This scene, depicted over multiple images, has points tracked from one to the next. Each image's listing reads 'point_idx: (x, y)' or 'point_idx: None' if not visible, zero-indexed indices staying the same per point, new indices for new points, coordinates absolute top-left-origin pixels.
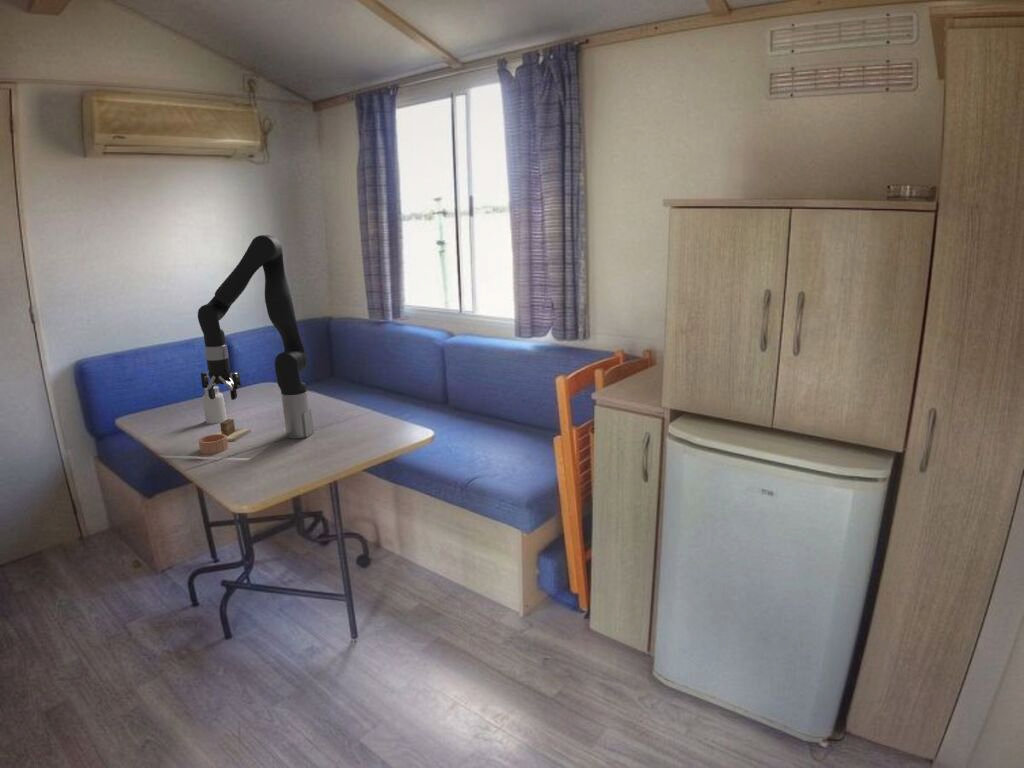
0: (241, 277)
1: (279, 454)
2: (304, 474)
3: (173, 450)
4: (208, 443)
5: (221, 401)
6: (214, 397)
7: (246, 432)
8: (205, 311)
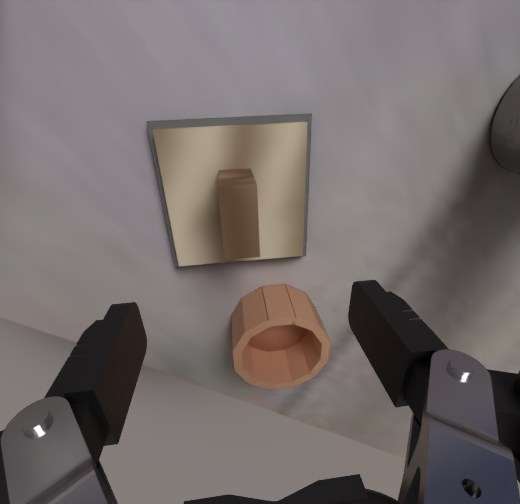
0: None
1: (490, 304)
2: None
3: None
4: (293, 384)
5: None
6: (136, 317)
7: (304, 157)
8: None
